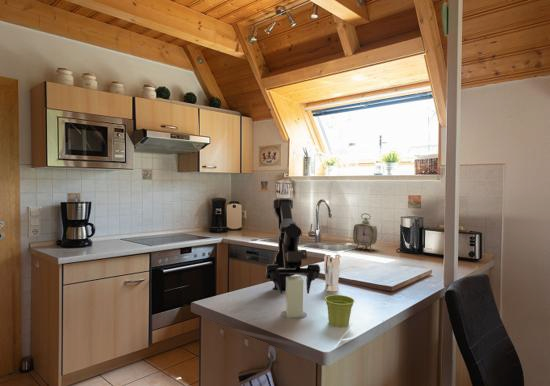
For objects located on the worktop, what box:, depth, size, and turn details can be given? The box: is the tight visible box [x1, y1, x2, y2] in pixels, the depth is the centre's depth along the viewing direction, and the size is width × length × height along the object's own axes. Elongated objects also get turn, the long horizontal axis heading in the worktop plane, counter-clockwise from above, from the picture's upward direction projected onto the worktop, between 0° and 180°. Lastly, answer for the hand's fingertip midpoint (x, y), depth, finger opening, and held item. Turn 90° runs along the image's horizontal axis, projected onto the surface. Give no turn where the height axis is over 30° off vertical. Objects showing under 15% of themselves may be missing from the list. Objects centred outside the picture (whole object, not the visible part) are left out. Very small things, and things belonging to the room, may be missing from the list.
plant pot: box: [324, 294, 355, 328], centre depth 122 cm, size 9×9×9 cm
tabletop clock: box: [352, 213, 378, 252], centre depth 262 cm, size 14×9×25 cm, turn 53°
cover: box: [284, 275, 304, 317], centre depth 129 cm, size 5×5×12 cm
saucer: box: [280, 310, 308, 320], centre depth 129 cm, size 9×9×1 cm
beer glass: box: [323, 253, 342, 293], centre depth 162 cm, size 7×7×15 cm
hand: (294, 293), depth 128 cm, fingers open, 9 cm apart
